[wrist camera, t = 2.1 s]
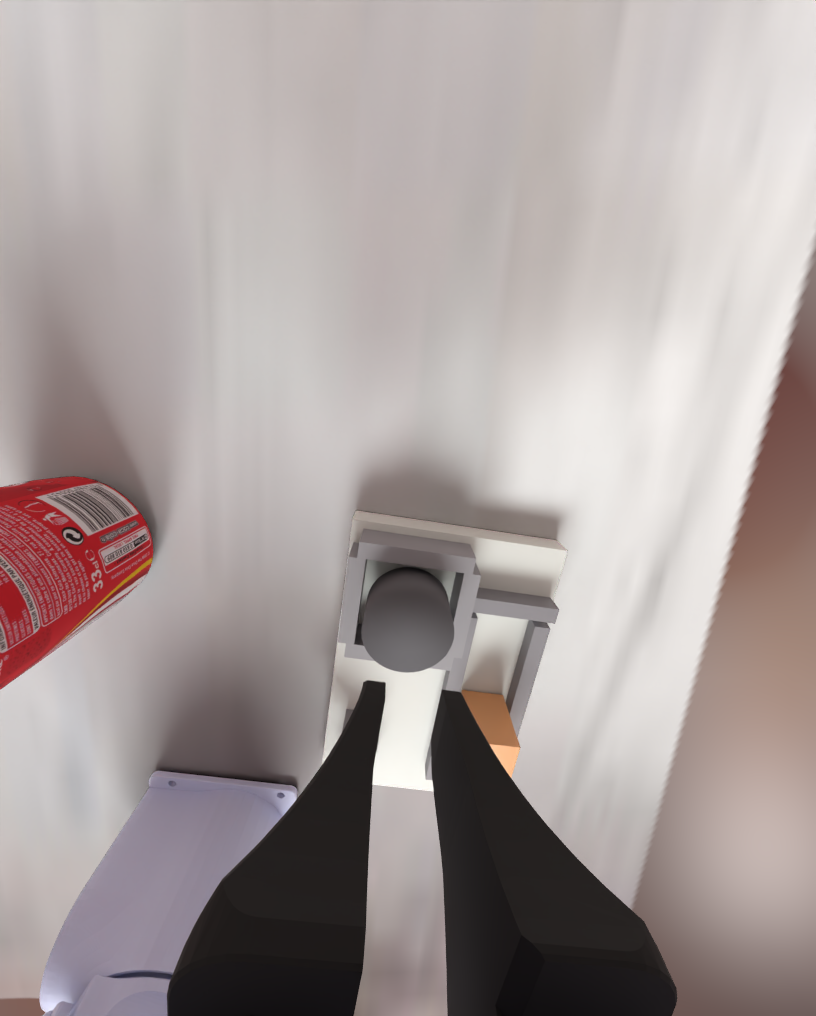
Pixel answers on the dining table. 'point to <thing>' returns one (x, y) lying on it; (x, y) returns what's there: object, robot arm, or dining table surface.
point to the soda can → (63, 563)
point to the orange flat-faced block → (495, 725)
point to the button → (407, 620)
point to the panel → (477, 630)
